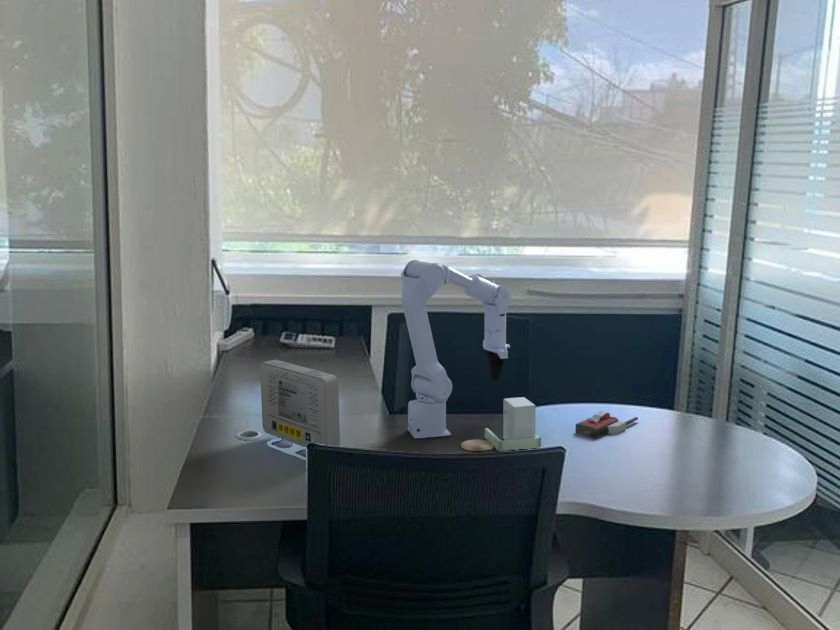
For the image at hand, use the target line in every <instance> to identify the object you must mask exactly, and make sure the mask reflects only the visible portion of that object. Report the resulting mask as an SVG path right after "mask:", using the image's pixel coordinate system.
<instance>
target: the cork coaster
mask: <svg viewBox="0 0 840 630" xmlns="http://www.w3.org/2000/svg"><path fill="white" fill-rule="evenodd" d="M460 447H461V448H462V449H463V450H464V449H465V451H467V450H468V452H473V451H482V450H489V451H491V450H493V449H495V447H494V445H493V444H492V443H491V442H490V441H487V440H486V439H468V440H465V441H462V442H461V445H460Z"/></svg>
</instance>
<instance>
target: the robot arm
mask: <svg viewBox="0 0 840 630" xmlns="http://www.w3.org/2000/svg"><path fill="white" fill-rule="evenodd" d="M400 276H401V281H402V291H401V304H402V308H403V314H404V318H405V323H406V326H407V331H408V334H409V335H408V336H409V339H410V343H411V349H412V352H413V356H414V360H415V361H414V362H415V364H416V365H414V367H412V368H411V370H410V372H411V383H410V385H411V389H412V392H414V393H415V398H416V399H414V400H409V402H408V404H407V431H408V432H409V433H410V435H411V436H412V437H413V438H414V439H417V438H418V439H427V438H428V437H429V438H438V437H450V436H452V433H451V432H450V431H449V430H448V429H447V404H446V403H447V401H448V398H449V397H450V396H451V393H452V392H453V383H452V380H451V379H450V378H449V376H448V374H447V371H446V369H445V367H443V365H442V364H441V363H440V362H439V359H438V356H437V351H436V347H435V342H434V338H433V334H432V333H433V332H432V329H431V324H430V320H429V315H428V311H427V306H426V303H427V301H428V300H430V299H431V298H432V297H433V296H434V295H435V294H436V293H437V292H438V290H439V289H441V288H442V286H443V285H447V284H450V285H453V286H456V287H459V288H462V289H463V292H464V294H465V296H468V297H470V298H472V299H475V300H477V301H480V303H481V304H482V305H484V328H483V329H484V333H483V334H484V339H483V341H482V348H483V350H486V351H487V352H483V353H482V356H483V357H484V359H485V361H486V365H487V366H486V367H487V369H488V374H489V378H490V380H492V381H493V380H494V381H495V380H500V378H501V375H502V374H501V373H502V370H503V367H504V365H505V362H506V360H507V359H509V351H508V349H510V348H511V345H510V344H509V343H507V313H508V311H509V305H510V304H511V300H512V295H511V292H510V291H509V289H508V288H507V286H505V285H500V284H496V281H495V280H488V279H486V278H483V277H484V275H483V274H480V273H476V274H471V275H469V276H468V275H466V274H464V273H462V272H460V271H458V270H456V269H454V268H452V267H450V266H448V265H444V264H441V263H438V262H426V261H420V260H416V259H412V260H410V261H408V262H407V264H406V265H405V266H404V267H403V270H402V272H401V273H400Z"/></svg>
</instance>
